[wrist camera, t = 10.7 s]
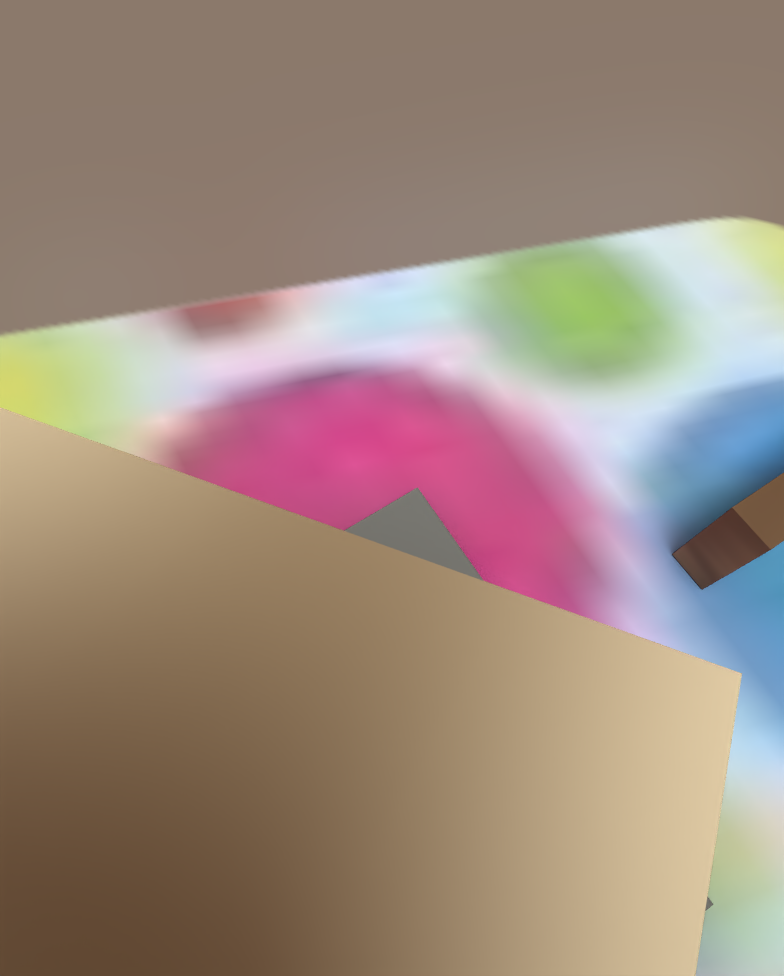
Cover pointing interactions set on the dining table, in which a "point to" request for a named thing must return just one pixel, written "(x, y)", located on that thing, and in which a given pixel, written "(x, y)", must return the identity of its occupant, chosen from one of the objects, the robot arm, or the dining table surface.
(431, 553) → the mat
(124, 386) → the dining table surface
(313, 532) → the maple block
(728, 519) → the nook
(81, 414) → the dining table surface
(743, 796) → the dining table surface
